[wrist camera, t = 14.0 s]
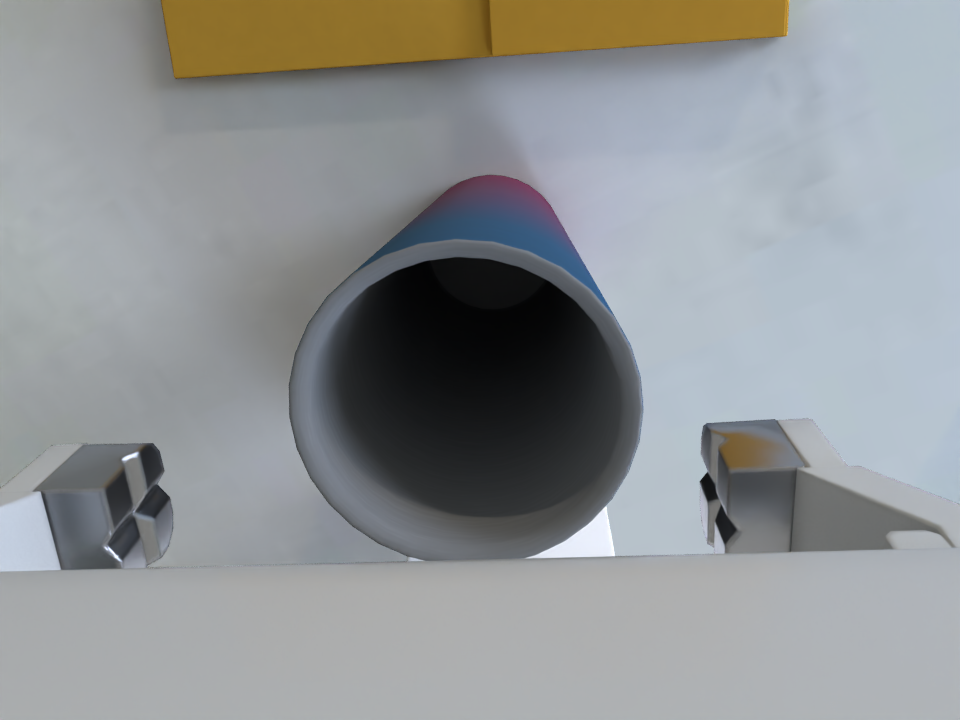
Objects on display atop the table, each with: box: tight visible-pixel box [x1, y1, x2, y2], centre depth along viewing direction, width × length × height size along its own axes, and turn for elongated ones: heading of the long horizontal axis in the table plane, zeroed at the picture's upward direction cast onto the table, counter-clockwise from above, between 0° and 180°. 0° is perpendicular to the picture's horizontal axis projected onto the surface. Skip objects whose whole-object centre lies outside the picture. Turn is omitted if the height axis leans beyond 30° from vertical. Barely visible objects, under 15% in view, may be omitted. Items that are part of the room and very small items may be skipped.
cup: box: [289, 175, 643, 561], centre depth 24 cm, size 7×7×15 cm
